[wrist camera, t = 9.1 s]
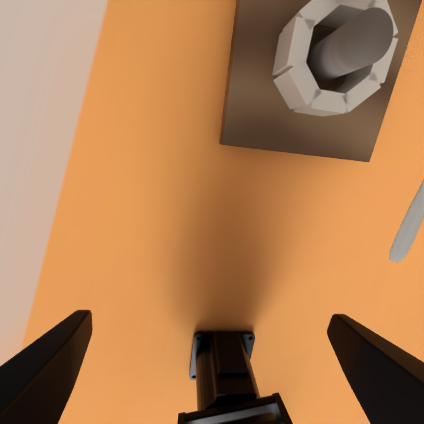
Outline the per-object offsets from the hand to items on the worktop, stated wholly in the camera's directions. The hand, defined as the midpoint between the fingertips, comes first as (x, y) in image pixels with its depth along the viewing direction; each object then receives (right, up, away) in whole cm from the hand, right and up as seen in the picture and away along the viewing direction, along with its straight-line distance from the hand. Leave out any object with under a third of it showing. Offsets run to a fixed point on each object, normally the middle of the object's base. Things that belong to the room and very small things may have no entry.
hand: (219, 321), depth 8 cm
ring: (+7, +14, +7) cm, 17 cm away
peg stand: (+7, +15, +9) cm, 18 cm away
